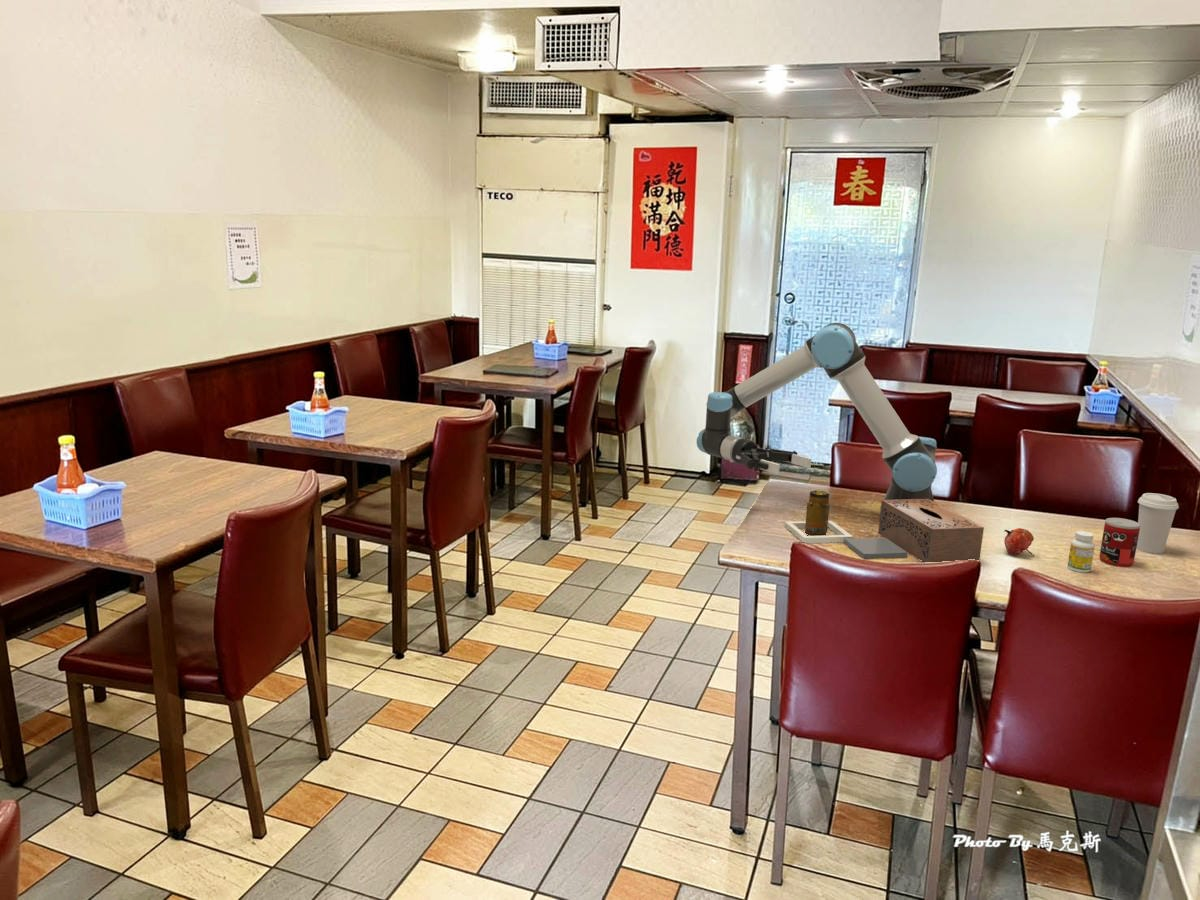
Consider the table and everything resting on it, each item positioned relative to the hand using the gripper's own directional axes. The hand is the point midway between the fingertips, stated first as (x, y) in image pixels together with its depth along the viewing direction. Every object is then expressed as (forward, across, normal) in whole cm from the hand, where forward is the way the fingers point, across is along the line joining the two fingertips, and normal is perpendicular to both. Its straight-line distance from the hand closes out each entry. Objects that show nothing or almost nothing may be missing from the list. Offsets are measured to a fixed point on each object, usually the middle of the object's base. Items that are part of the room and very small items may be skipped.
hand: (794, 466), depth 255 cm
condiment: (+10, 0, -18) cm, 20 cm away
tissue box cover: (+34, -17, -17) cm, 41 cm away
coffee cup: (+69, -69, -16) cm, 99 cm away
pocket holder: (+10, 0, -17) cm, 20 cm away
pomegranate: (+50, -33, -17) cm, 63 cm away
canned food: (+68, -50, -17) cm, 86 cm away
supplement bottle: (+65, -36, -17) cm, 76 cm away
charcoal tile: (+27, -2, -17) cm, 32 cm away
